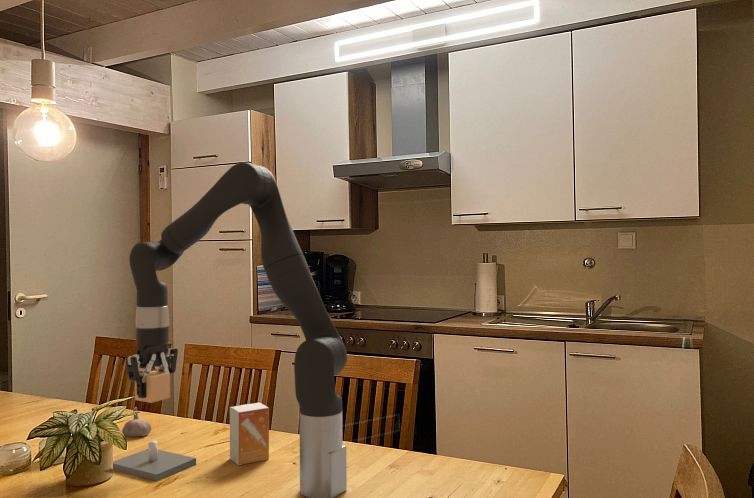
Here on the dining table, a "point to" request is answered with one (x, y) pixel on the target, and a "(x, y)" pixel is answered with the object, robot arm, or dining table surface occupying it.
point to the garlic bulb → (136, 427)
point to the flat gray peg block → (153, 463)
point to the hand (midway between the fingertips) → (152, 394)
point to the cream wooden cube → (156, 387)
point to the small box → (249, 433)
